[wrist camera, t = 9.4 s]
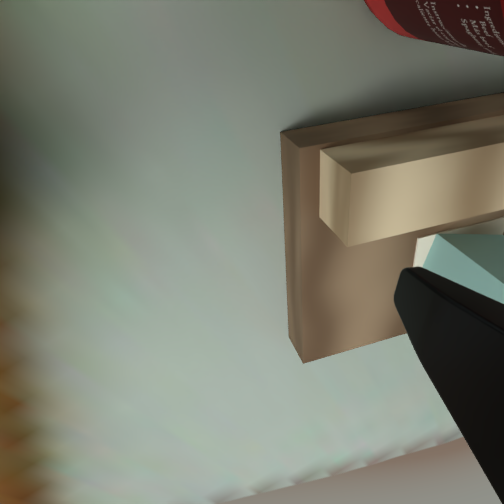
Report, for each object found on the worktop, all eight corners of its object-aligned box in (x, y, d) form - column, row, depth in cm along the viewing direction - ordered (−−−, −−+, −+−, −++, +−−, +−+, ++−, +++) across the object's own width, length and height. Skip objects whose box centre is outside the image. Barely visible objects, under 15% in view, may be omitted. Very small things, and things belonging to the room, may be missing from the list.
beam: (319, 216, 22) (347, 247, 19) (319, 149, 20) (351, 173, 17) (518, 172, 24) (566, 194, 22) (537, 108, 22) (591, 124, 20)
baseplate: (288, 336, 29) (303, 364, 27) (280, 132, 21) (300, 148, 19) (466, 287, 32) (492, 308, 30) (516, 90, 24) (556, 101, 22)
